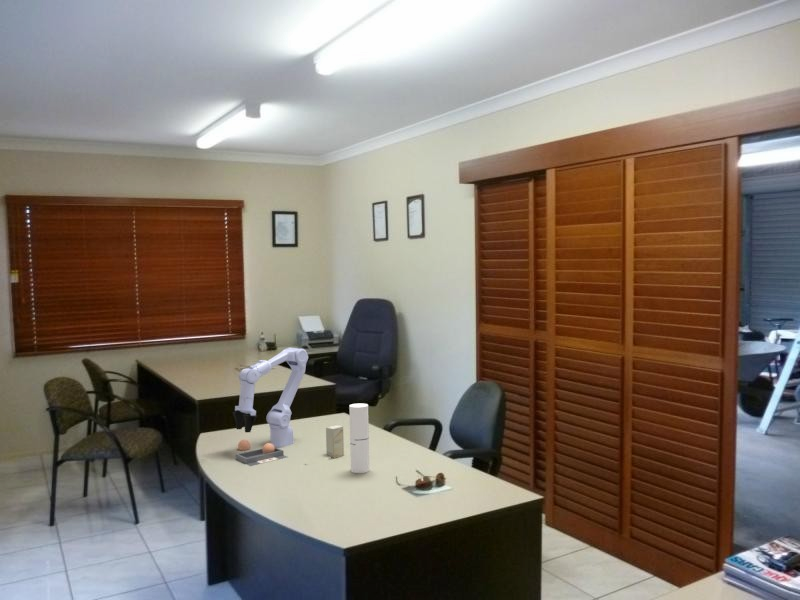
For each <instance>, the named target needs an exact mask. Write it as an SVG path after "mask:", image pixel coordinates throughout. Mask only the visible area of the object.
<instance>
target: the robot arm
mask: <svg viewBox="0 0 800 600" xmlns="http://www.w3.org/2000/svg"><path fill="white" fill-rule="evenodd" d="M308 359H309V354H308V353H307V350H306V349H304V348H296V347H291V346H290V347H287V348H285V349H283V350H282V351H281V352H279V353H278V354H276V355H275V356H273V357H272V358H270V359H268V360H266V359H260V360H258V362H257V363H255V364H253V365H252V364H251V365H250V366H249V368H243V369H242V370H241V371H240V373H239V374H238V379H239V381H240V390H239V400H238V405H235V406H234V411H233V412H232V415H233V417H234V422H235V429H236V430H242V428H243V425H244V432H245V433H251V432H252V429H253V427H254V424H255V421H256V420H257V418H258V415H257V410H255V409H254V407H253V406H254V397H255V387H256V383H257V382H258V381H259V380H260V378H262V377H264V375H267V374H268V373H270V372H271V370H272V368H274V367H276V366H278V365H280V364H282V363H284V362H286V363H287V364H288V365H289V367H290V369H291V372H290V375H289V377H288V379H287V381H286V384H285V386H284V387H283V391H282V393H281V395H280V398H278V399H279V400H278V402H277V403H276V404H274V405H273V406H272V407H271V409H270V410H269V411H268V413H267V415H266V419H265V420H266V422H267V423H268V425H269V429H270V430H269V436H270V437H269V438H270V440H269V441H270V443H271V444H273V445H274V447H276V448H285V447H287V446H290V445H294V443H295V442H294V429H293V427H292V426H291V425H290V422H291V415H292V411H291V405H292V403H293V401H294V398H295V397H296V393H297V391H298V389H299V386H300V384H301V382H302V380H303V377H304V375H305V373H306V366H307V362H308Z"/></svg>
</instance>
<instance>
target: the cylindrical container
mask: <svg viewBox="0 0 800 600" xmlns="http://www.w3.org/2000/svg"><path fill="white" fill-rule="evenodd" d="M348 409H349V442H350V443H349V447H350V448H349V449H350V450H349V452H350V455H349V456H350V472H351V473H354V474H364V473H368V472H370V433H369V432H370V431H369V430H370V429H369V404H368V403H359V402H358V403H352V404H349V407H348Z"/></svg>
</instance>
